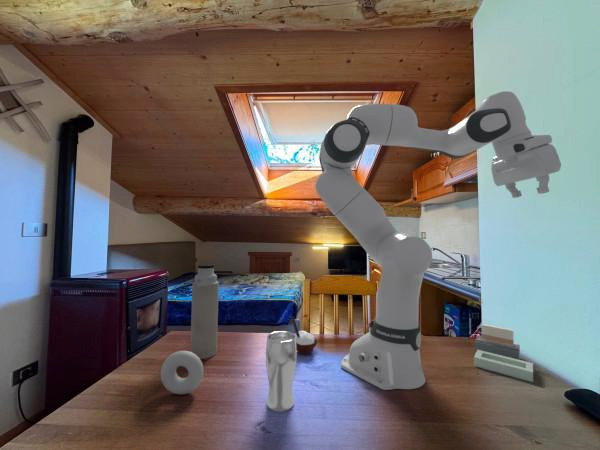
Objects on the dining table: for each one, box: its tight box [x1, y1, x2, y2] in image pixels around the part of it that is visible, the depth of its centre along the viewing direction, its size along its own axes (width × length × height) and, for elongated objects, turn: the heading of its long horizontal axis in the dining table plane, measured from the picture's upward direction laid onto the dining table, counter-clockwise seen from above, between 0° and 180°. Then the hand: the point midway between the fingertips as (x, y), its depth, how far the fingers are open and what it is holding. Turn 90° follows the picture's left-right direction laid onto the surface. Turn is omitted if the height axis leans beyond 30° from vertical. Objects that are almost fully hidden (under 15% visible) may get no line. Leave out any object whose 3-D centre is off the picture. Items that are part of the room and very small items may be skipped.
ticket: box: [481, 323, 515, 347], centre depth 85 cm, size 8×2×9 cm, turn 50°
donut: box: [160, 350, 205, 395], centre depth 65 cm, size 10×4×10 cm, turn 90°
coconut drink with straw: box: [290, 315, 318, 356], centre depth 88 cm, size 10×6×12 cm, turn 98°
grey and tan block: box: [474, 335, 521, 360], centre depth 85 cm, size 11×6×5 cm, turn 50°
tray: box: [473, 350, 534, 383], centre depth 77 cm, size 13×7×4 cm, turn 50°
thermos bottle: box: [189, 263, 220, 360], centre depth 87 cm, size 8×8×28 cm
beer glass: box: [265, 330, 298, 413], centre depth 62 cm, size 7×7×15 cm
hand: (529, 195), depth 77 cm, fingers open, 8 cm apart
